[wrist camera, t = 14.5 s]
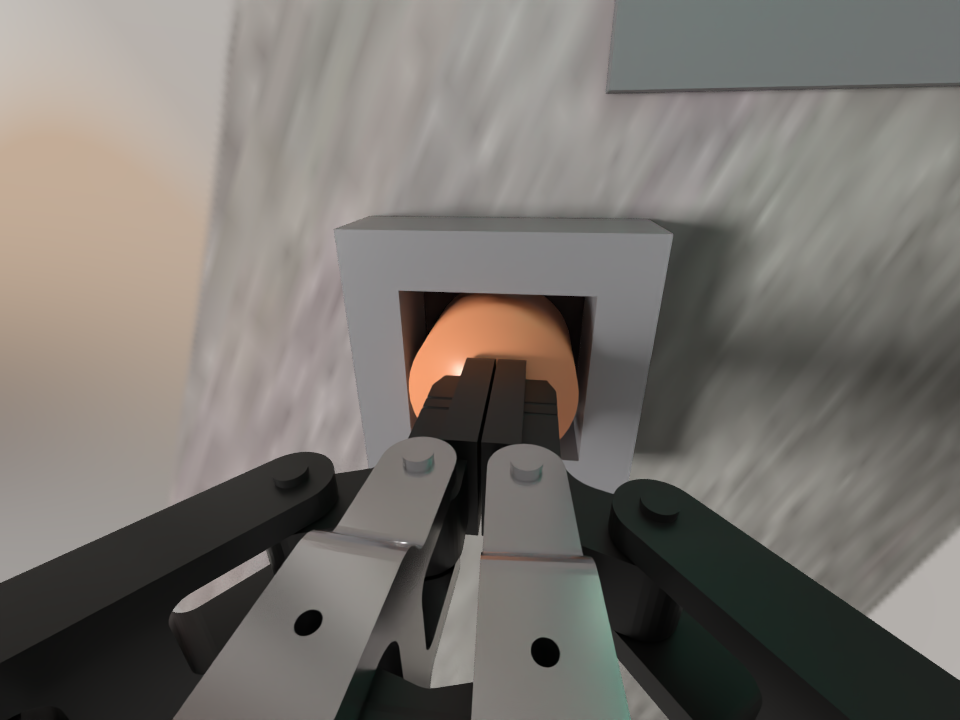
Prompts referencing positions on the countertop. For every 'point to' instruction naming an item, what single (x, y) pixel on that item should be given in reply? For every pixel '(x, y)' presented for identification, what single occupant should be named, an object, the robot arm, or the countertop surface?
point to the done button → (499, 345)
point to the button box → (509, 270)
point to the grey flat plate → (782, 45)
